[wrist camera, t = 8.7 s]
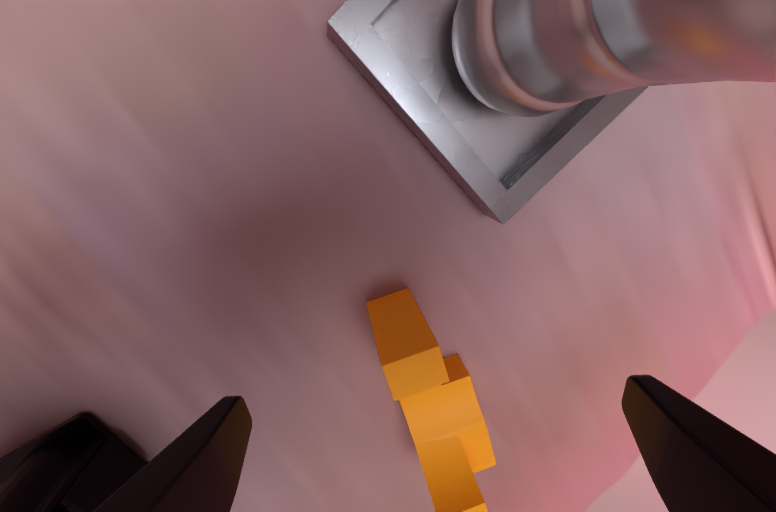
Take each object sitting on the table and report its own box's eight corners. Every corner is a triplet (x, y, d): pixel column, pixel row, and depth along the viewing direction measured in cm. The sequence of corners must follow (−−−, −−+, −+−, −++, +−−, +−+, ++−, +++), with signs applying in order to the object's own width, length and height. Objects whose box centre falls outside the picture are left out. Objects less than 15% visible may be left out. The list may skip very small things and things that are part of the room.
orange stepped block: (476, 426, 26) (522, 514, 20) (418, 447, 26) (447, 544, 20) (435, 276, 22) (477, 331, 16) (365, 300, 22) (381, 366, 16)
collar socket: (485, 214, 21) (503, 224, 19) (327, 35, 17) (327, 21, 15) (652, 53, 20) (693, 43, 17) (524, -183, 16) (556, -233, 13)
